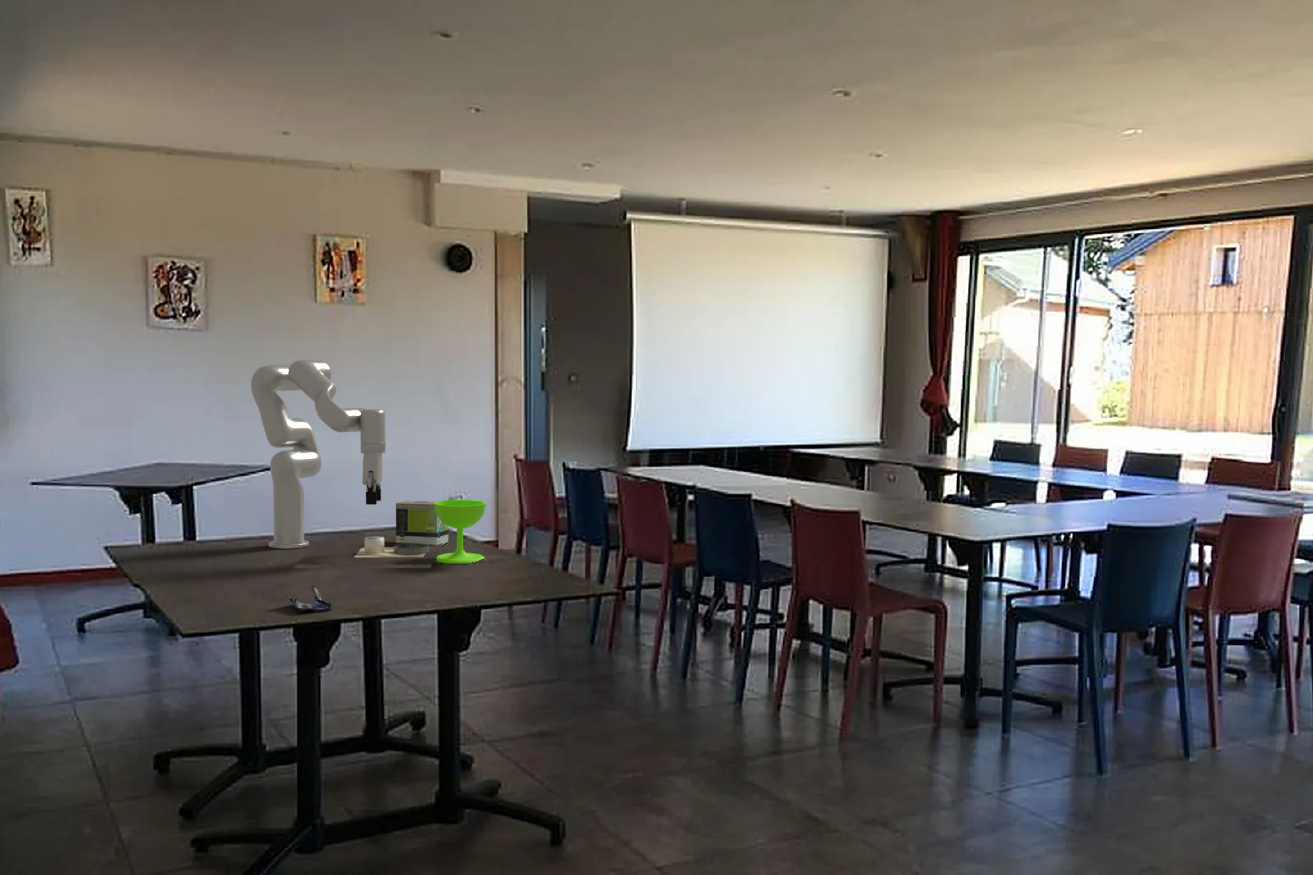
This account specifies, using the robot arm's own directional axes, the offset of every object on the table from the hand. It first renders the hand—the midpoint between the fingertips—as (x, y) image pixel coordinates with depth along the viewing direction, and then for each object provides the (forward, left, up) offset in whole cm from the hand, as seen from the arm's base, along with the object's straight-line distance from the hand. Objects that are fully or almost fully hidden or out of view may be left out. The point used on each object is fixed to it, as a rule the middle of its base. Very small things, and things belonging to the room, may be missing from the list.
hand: (373, 502), depth 343 cm
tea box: (-21, +13, -17) cm, 30 cm away
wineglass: (+8, +27, -17) cm, 33 cm away
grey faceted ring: (0, +12, -16) cm, 20 cm away
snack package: (+75, -6, -18) cm, 77 cm away
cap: (0, 0, -16) cm, 16 cm away
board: (0, +6, -17) cm, 18 cm away
